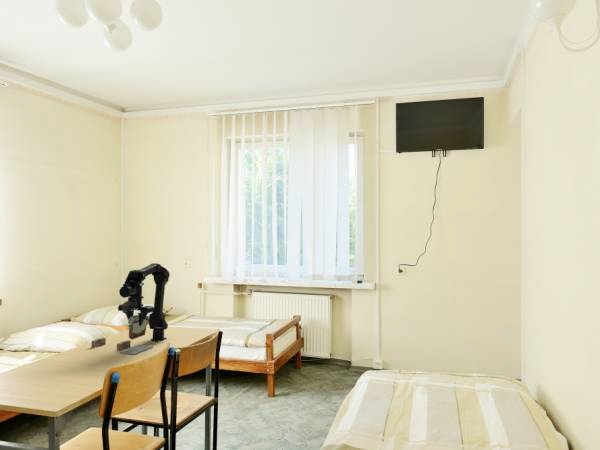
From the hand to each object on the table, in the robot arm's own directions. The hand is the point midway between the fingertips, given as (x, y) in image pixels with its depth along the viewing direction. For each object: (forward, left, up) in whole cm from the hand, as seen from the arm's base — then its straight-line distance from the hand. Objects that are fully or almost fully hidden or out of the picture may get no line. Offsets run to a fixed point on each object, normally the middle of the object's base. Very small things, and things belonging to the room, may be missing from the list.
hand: (135, 325), depth 235 cm
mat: (0, +1, -13) cm, 13 cm away
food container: (-1, -1, -6) cm, 6 cm away
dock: (0, -15, -13) cm, 20 cm away
